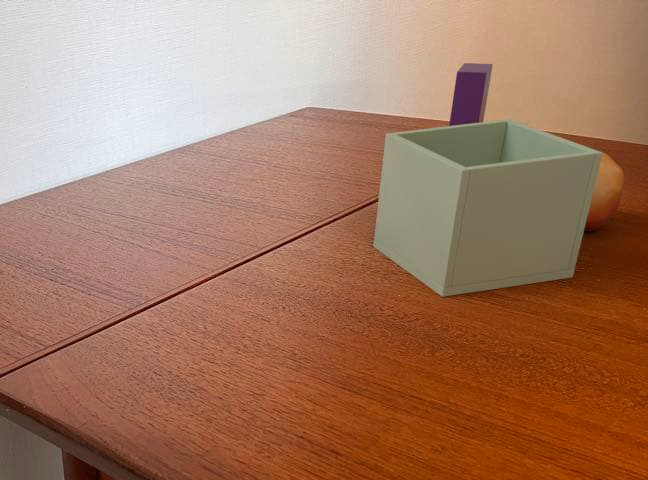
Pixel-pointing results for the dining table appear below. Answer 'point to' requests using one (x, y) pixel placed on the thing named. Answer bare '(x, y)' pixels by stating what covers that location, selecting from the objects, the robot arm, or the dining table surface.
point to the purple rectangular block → (470, 94)
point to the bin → (484, 205)
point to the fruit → (605, 194)
